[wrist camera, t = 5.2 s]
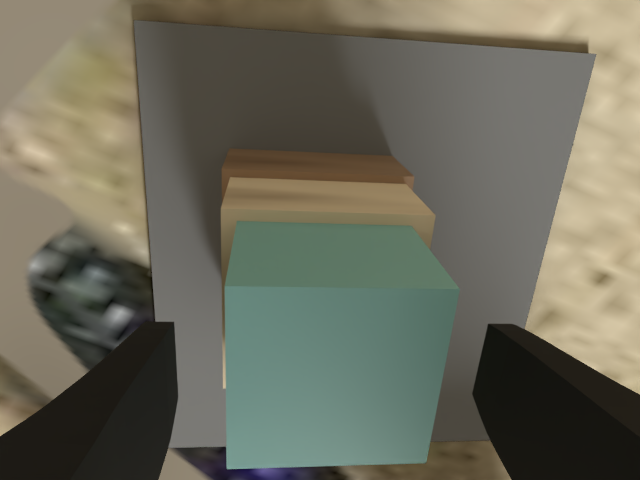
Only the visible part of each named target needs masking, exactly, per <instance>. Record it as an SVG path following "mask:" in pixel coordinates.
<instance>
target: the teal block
mask: <svg viewBox="0 0 640 480" xmlns="http://www.w3.org/2000/svg"><path fill="white" fill-rule="evenodd" d="M459 292H460V289H459V287H458V286H457V285H456V283H455V282H454V281H453V279H452V278H451V277H450V275H449V274H448V273H447V272H446V270H445V269H444V268H443V266H442V265H441V264H440V262H439V261H438V260H437V258H436V257H435V256H434V255H433V253H432V252H431V251H430V249H429V248H428V247H427V245H426V244H425V243H424V241H423V240H422V239H421V237H420V236H419V235H418V234H417V232H416V231H415V230H414V228H413V227H412V226H404V225H367V224H331V223H294V222H258V221H237V223H236V228H235V234H234V239H233V244H232V250H231V255H230V260H229V266H228V271H227V276H226V282H225V361H226V445H227V469H247V468H281V467H315V466H349V465H384V464H418V463H426V461H427V456H428V451H429V446H430V441H431V435H432V430H433V425H434V420H435V415H436V410H437V405H438V399H439V394H440V389H441V384H442V379H443V374H444V369H445V364H446V358H447V353H448V348H449V343H450V338H451V333H452V328H453V322H454V317H455V312H456V307H457V302H458V297H459Z"/></svg>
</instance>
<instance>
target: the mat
mask: <svg viewBox="0 0 640 480" xmlns="http://www.w3.org/2000/svg"><path fill="white" fill-rule="evenodd" d="M134 31H135V45H136V59H137V73H138V87H139V100H140V114H141V128H142V142H143V156H144V170H145V184H146V197H147V211H148V225H149V239H150V253H151V267H152V280H153V294H154V308H155V322H174V327H175V345H176V363H177V381H178V402H177V408H176V413H175V419H174V424H173V430H172V435H171V440H170V443H169V447H168V448H176V447H221V446H227V445H226V389H223V351H222V271H221V206H222V166H223V164H224V161H225V159H226V156H227V153H228V151H229V148H231V149H253V150H275V151H297V152H319V153H341V154H363V155H385V156H393V157H394V158H395V159H396V160H397V161H398V162H400V163H401V164H402V165H403V166H404V167H405V168H406V169H407V170H408V171H409V172H410V173H411V174H412V175H413V176H414V184H413V192H414V193H415V194H416V195H417V196H418V197H419V198H420V199H421V200H422V201H423V203H424V204H425V205H426V206H427V207H428V208H429V209H430V210H431V211H432V212H433V213H434V214H435V215H436V216H435V223H434V229H433V235H432V241H431V247H430V251H431V252H432V253H433V255H434V256H435V257H436V258H437V260H438V261H439V262H440V264H441V265H442V266H443V268H444V269H445V270H446V272H447V273H448V274H449V275H450V277H451V278H452V279H453V281H454V282H455V283H456V285H457V286H458V287H459V289H460V292H459V297H458V302H457V307H456V312H455V317H454V322H453V328H452V333H451V338H450V343H449V348H448V353H447V358H446V364H445V369H444V374H443V379H442V384H441V389H440V394H439V399H438V405H437V410H436V415H435V420H434V425H433V430H432V435H431V441H430V442H443V441H487V440H490V438H489V436H488V435H487V432H486V430H485V427H484V425H483V422H482V420H481V417H480V415H479V412H478V409H477V406H476V404H475V401H474V398H473V395H472V392H473V387H474V383H475V379H476V374H477V370H478V366H479V361H480V357H481V352H482V348H483V344H484V339H485V335H486V331H487V326H488V324H514V325H517V326H519V327H521V328H523V329H524V328H525V324H526V321H527V317H528V313H529V309H530V305H531V302H532V298H533V294H534V290H535V286H536V282H537V279H538V275H539V271H540V267H541V263H542V260H543V256H544V252H545V248H546V244H547V241H548V237H549V233H550V229H551V225H552V221H553V218H554V214H555V210H556V206H557V202H558V199H559V195H560V191H561V187H562V183H563V180H564V176H565V172H566V168H567V164H568V160H569V157H570V153H571V149H572V145H573V141H574V138H575V134H576V130H577V126H578V122H579V118H580V115H581V111H582V107H583V103H584V99H585V96H586V92H587V88H588V84H589V80H590V77H591V73H592V69H593V65H594V61H595V57H596V54H589V53H575V52H561V51H548V50H534V49H521V48H507V47H493V46H480V45H466V44H453V43H439V42H426V41H412V40H398V39H385V38H371V37H358V36H344V35H330V34H317V33H303V32H290V31H276V30H263V29H249V28H235V27H222V26H208V25H195V24H181V23H167V22H154V21H140V20H134Z"/></svg>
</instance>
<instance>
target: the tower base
mask: <svg viewBox="0 0 640 480" xmlns="http://www.w3.org/2000/svg"><path fill="white" fill-rule="evenodd" d="M230 177H240V178H265V179H291V180H317V181H343V182H368V183H394V184H406V185H407V186H408V187H409V188H410V189H411V190H412V191H413V184H414V176H413V175H412V174H411V173H410V172H409V171H408V170H407V169H406V168H405V167H404V166H403V165H402V164H401V163H400V162H398V161H397V160H396V159H395V158H394V157H393V156H385V155H363V154H341V153H319V152H297V151H275V150H253V149H231V148H229V151H228V153H227V156H226V159H225V161H224V164H223V166H222V203H223V199H224V196H225V193H226V189H227V186H228V183H229V179H230Z"/></svg>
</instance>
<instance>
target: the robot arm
mask: <svg viewBox="0 0 640 480" xmlns="http://www.w3.org/2000/svg"><path fill="white" fill-rule="evenodd" d="M472 395H473V398H474V401H475V404H476V406H477V409H478V412H479V415H480V417H481V420H482V422H483V425H484V427H485V430H486V432H487V435H488V436H489V438H490V440H491V442H492V444H493V446H494V448H495V450H496V452H497V454H498V455H499V457H500V459H501V461H502V463H503V465H504V467H505V468H506V470H507V472H508V474H509V476H510V478H511V479H512V480H640V395H639V394H638V393H636V392H634V391H632V390H630V389H628V388H626V387H624V386H622V385H621V384H619V383H617V382H615V381H613V380H612V379H610V378H608V377H606V376H605V375H603V374H601V373H599V372H598V371H596V370H594V369H592V368H591V367H589V366H587V365H585V364H584V363H582V362H580V361H579V360H577V359H575V358H574V357H572V356H570V355H568V354H567V353H565V352H563V351H562V350H560V349H558V348H557V347H555V346H553V345H552V344H550V343H548V342H546V341H545V340H543V339H541V338H539V337H538V336H536V335H534V334H532V333H530V332H529V331H527V330H525V329H523V328H521V327H519V326H517V325H514V324H488V326H487V331H486V335H485V339H484V344H483V348H482V352H481V357H480V361H479V366H478V370H477V374H476V379H475V383H474V387H473V392H472ZM177 402H178V381H177V363H176V345H175V327H174V322H144V323H143V324H142V325H141V326H140V327H139V328H138V329H136V330H135V331H134V332H133V333H132V334H131V335H130V336H129V337H127V338H126V339H125V340H124V341H123V342H122V343H121V344H120V345H119V346H117V347H116V348H115V349H114V350H113V351H112V352H111V353H110V354H109V355H107V356H106V357H105V358H104V359H103V360H102V361H101V362H99V363H98V364H97V365H96V366H95V367H94V368H92V369H91V370H90V371H89V372H88V373H87V374H85V375H84V376H83V377H82V378H81V379H79V380H78V381H77V382H75V383H74V384H73V385H72V386H70V387H69V388H68V389H66V390H65V391H64V392H63V393H61V394H60V395H59V396H57V397H56V398H55V399H54V400H52V401H51V402H50V403H49V404H47V405H46V406H44V407H43V408H42V409H40V410H39V411H37V412H36V413H35V414H33V415H32V416H30V417H29V418H27V419H26V420H25V421H23V422H21V423H20V424H18V425H17V426H15V427H14V428H12V429H11V430H9V431H8V432H6V433H5V434H3V435H2V436H0V480H158V479H159V476H160V473H161V469H162V466H163V463H164V459H165V456H166V453H167V450H168V447H169V443H170V440H171V435H172V430H173V424H174V419H175V413H176V408H177Z"/></svg>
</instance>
